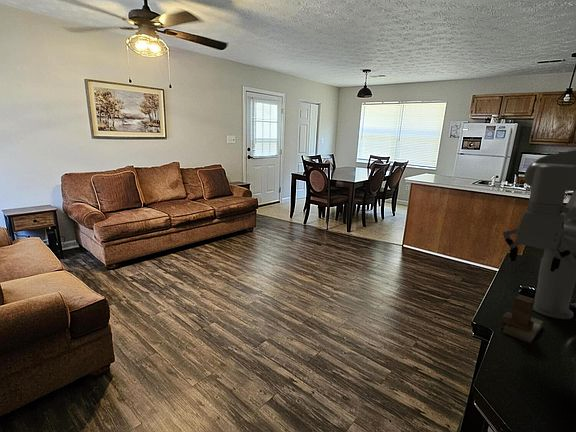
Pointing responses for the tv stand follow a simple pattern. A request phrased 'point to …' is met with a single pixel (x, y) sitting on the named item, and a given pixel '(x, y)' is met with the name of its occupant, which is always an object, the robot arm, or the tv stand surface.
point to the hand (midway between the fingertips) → (532, 265)
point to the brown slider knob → (520, 314)
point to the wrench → (540, 267)
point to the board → (524, 331)
